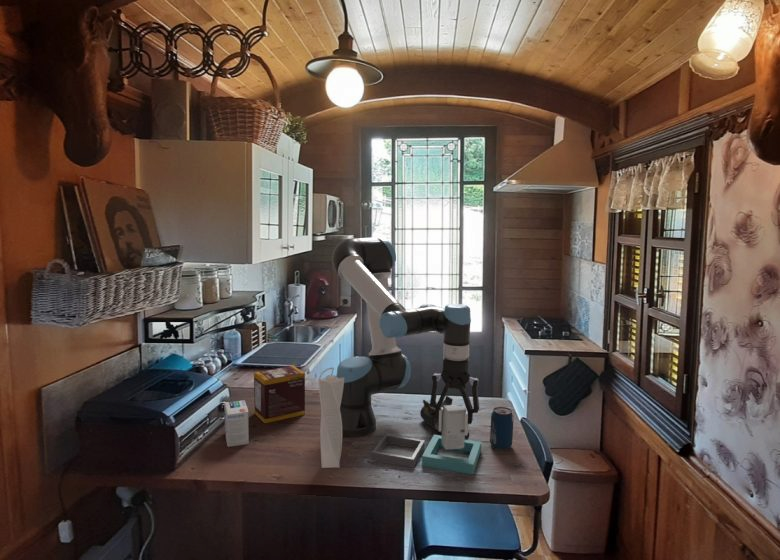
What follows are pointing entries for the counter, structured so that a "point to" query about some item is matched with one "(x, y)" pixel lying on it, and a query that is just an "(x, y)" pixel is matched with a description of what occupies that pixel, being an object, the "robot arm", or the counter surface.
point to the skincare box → (453, 427)
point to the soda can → (501, 428)
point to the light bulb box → (236, 423)
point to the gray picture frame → (398, 459)
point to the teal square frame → (448, 462)
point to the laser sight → (430, 414)
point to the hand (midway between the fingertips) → (453, 431)
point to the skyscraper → (330, 419)
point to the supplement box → (279, 393)
